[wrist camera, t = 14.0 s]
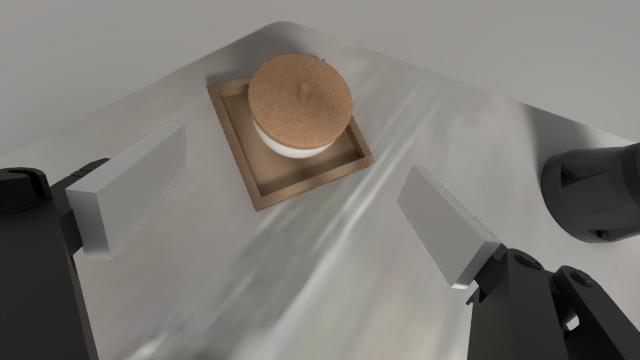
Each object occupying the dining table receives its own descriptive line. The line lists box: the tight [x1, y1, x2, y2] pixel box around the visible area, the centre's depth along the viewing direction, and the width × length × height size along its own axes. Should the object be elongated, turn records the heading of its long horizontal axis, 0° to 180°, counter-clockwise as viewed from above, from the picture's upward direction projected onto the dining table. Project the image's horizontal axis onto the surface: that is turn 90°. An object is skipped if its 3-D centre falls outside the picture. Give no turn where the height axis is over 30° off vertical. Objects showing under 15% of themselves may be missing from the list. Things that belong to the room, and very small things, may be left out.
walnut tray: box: [207, 59, 375, 212], centre depth 32 cm, size 16×16×2 cm
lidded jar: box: [248, 53, 352, 158], centre depth 28 cm, size 11×11×9 cm
